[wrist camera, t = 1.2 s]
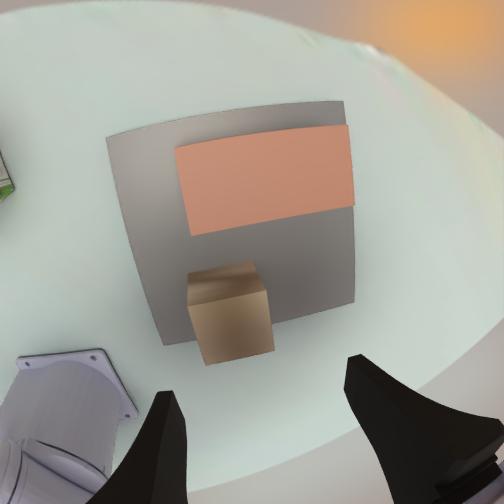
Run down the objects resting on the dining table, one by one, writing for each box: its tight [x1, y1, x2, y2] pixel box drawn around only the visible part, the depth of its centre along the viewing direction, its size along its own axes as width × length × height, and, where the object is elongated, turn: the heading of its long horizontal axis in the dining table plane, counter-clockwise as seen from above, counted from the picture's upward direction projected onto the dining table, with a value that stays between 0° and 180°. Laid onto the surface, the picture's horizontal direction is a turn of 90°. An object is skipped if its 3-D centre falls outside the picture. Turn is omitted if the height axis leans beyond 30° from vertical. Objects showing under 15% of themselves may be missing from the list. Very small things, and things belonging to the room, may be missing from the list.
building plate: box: [106, 101, 355, 346], centre depth 19 cm, size 14×14×1 cm
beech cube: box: [187, 260, 275, 366], centre depth 18 cm, size 4×4×4 cm
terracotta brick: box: [174, 125, 355, 236], centre depth 15 cm, size 8×4×4 cm, turn 98°
